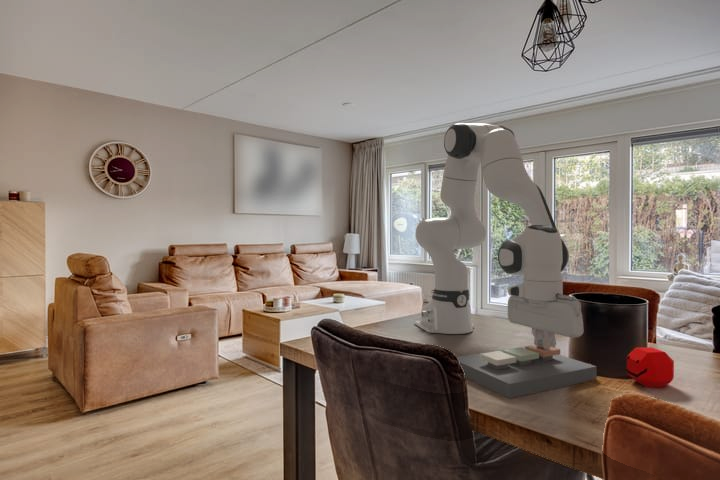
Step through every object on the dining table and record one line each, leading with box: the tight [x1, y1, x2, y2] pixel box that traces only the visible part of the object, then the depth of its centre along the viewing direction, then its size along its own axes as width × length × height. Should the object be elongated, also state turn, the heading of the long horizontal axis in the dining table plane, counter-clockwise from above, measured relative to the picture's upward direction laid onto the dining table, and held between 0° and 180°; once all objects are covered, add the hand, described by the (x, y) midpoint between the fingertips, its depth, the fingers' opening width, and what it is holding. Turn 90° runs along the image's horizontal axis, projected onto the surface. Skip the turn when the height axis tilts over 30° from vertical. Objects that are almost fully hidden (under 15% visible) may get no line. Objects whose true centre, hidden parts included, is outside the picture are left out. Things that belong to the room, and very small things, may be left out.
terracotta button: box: [525, 344, 561, 361], centre depth 105 cm, size 6×6×4 cm
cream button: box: [480, 350, 516, 370], centre depth 99 cm, size 6×6×4 cm
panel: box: [456, 345, 598, 399], centre depth 102 cm, size 20×26×3 cm
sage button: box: [502, 346, 539, 365], centre depth 102 cm, size 6×6×4 cm
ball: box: [626, 346, 675, 388], centre depth 95 cm, size 8×8×8 cm
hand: (543, 347), depth 105 cm, fingers closed, pressing on terracotta button
